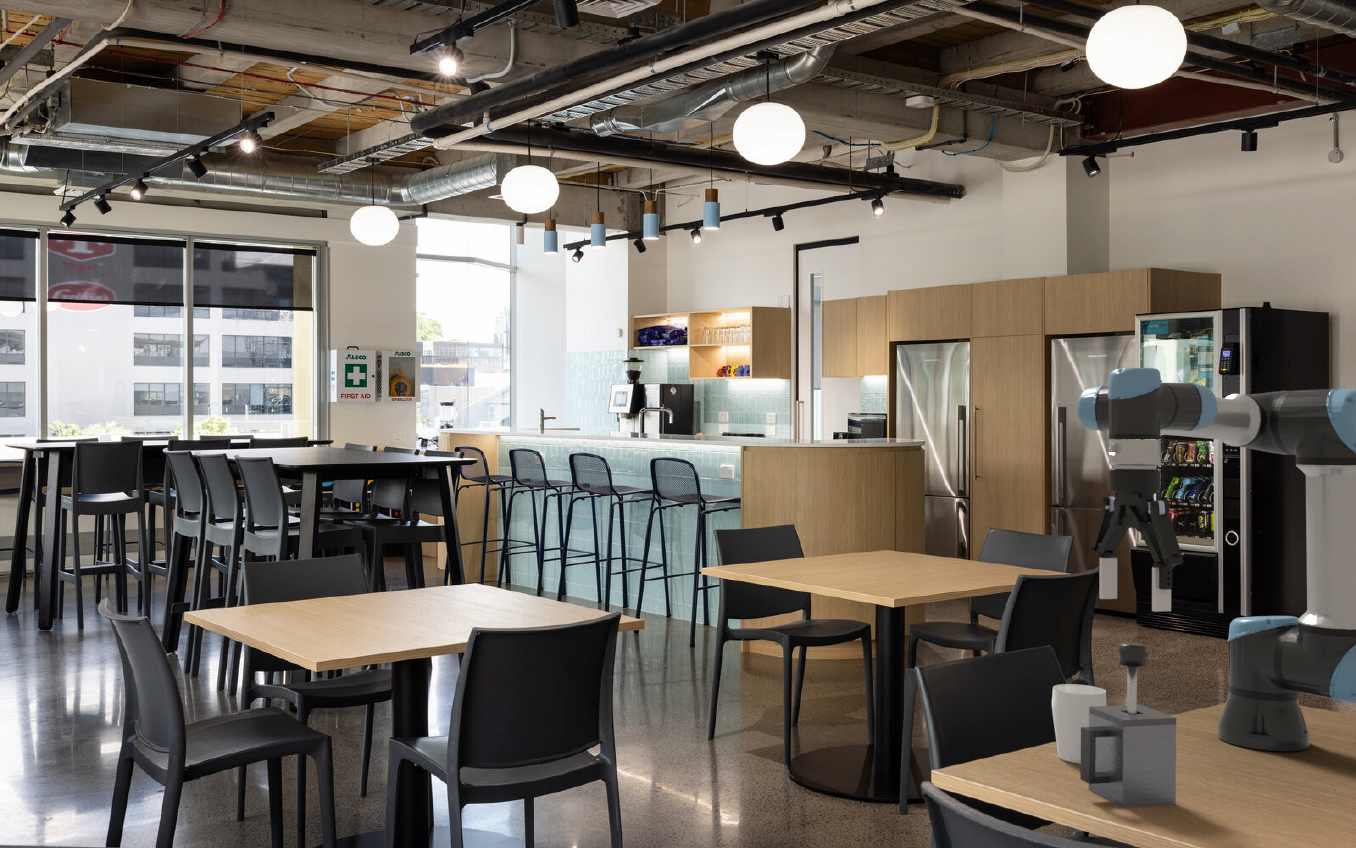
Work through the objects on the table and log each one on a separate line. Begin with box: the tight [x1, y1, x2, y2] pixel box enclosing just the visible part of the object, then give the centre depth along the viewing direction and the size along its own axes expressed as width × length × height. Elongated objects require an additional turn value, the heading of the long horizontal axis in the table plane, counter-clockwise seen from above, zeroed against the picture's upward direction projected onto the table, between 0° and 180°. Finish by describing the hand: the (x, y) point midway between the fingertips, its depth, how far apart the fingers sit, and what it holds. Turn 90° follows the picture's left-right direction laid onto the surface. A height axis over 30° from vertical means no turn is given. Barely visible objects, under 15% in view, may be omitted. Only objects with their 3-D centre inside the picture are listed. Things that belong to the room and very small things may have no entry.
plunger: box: [1118, 642, 1147, 714], centre depth 178 cm, size 6×6×20 cm
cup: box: [1051, 683, 1108, 765], centre depth 199 cm, size 9×9×12 cm
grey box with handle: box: [1080, 704, 1177, 808], centre depth 177 cm, size 12×9×13 cm
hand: (1133, 605), depth 178 cm, fingers open, 13 cm apart
